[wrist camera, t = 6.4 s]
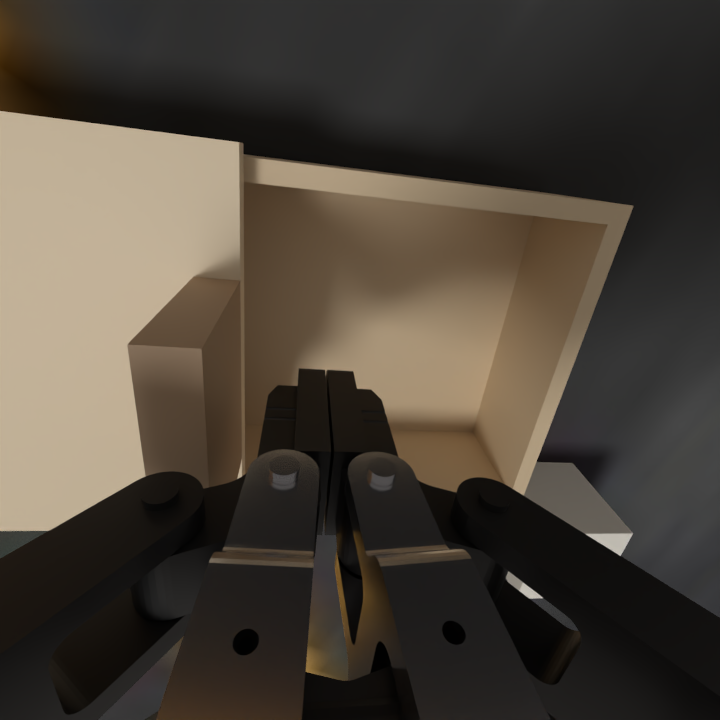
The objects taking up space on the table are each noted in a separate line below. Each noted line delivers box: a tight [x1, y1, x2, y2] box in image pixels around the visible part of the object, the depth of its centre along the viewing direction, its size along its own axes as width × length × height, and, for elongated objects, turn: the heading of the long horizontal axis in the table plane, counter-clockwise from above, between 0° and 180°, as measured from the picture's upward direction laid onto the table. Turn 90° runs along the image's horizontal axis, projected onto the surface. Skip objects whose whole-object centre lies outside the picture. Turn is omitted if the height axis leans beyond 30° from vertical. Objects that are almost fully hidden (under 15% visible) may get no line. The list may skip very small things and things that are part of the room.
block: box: [506, 462, 633, 598], centre depth 22 cm, size 4×4×5 cm
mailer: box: [243, 154, 633, 496], centre depth 16 cm, size 18×12×5 cm, turn 83°
